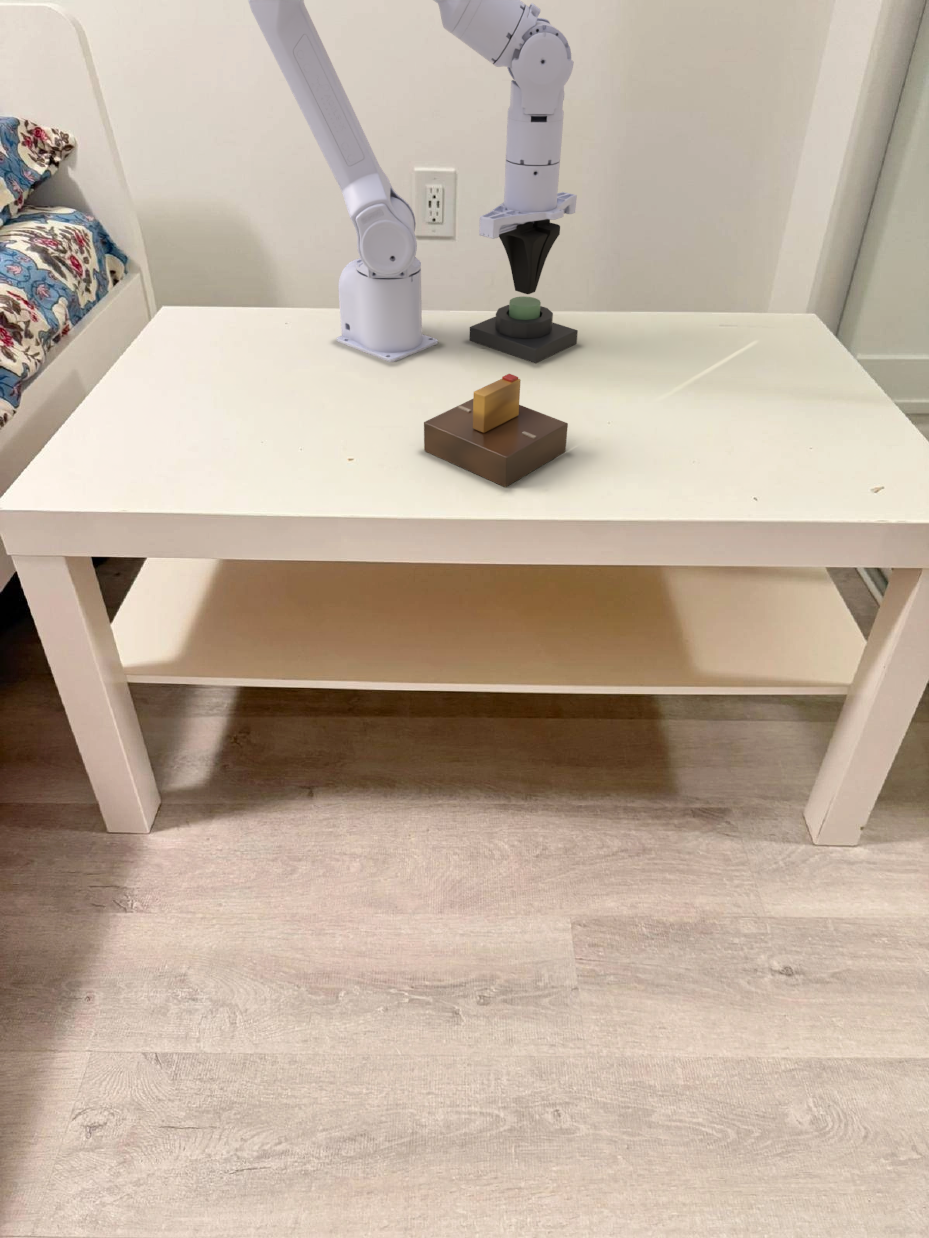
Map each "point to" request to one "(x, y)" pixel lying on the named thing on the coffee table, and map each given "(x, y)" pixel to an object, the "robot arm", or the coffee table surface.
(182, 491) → the coffee table surface
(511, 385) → the block
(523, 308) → the button
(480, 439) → the plate
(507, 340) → the push button base
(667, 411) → the coffee table surface
